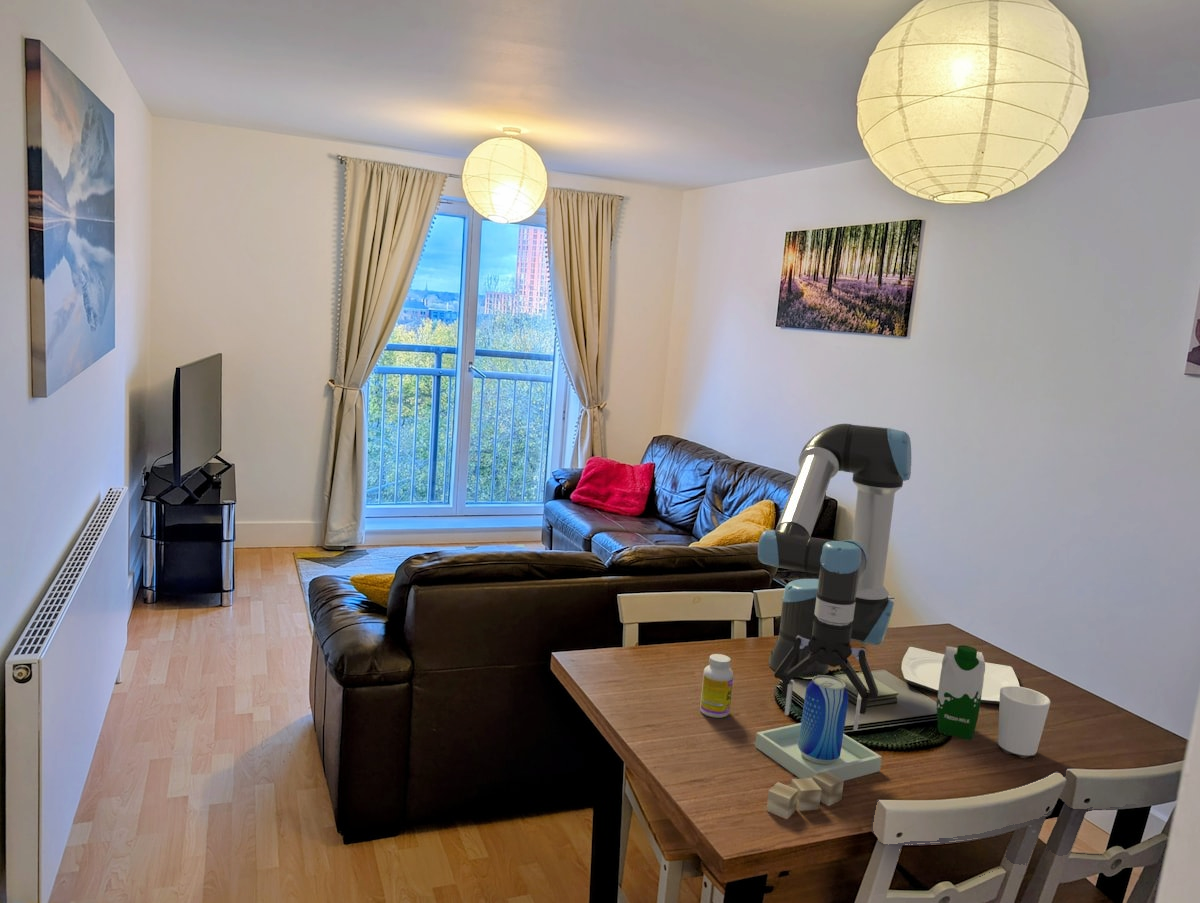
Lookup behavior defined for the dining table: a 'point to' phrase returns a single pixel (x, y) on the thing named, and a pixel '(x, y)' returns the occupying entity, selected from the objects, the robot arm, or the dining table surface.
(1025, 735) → the cup
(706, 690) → the supplement bottle
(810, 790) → the beech cube
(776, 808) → the beech cube
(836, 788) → the beech cube
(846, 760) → the tray
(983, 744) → the dining table surface
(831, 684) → the beer can
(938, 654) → the plate
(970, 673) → the milk carton
